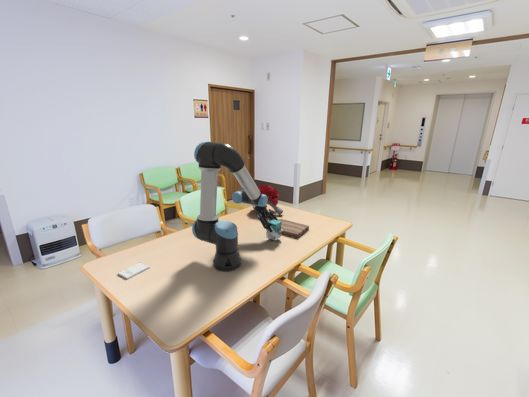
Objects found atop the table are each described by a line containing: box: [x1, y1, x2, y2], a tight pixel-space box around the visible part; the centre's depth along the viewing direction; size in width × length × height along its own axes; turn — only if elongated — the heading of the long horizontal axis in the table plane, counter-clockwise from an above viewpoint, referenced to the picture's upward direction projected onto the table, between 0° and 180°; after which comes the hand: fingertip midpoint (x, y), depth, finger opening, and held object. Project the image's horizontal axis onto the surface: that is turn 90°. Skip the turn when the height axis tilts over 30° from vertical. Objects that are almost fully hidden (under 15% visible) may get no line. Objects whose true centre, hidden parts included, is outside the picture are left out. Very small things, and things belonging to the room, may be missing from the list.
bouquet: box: [257, 184, 284, 216], centre depth 221 cm, size 22×24×30 cm
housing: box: [265, 219, 282, 241], centre depth 172 cm, size 7×7×11 cm
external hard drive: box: [117, 262, 151, 280], centre depth 136 cm, size 2×8×12 cm
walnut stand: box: [278, 218, 310, 239], centre depth 189 cm, size 18×24×3 cm
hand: (278, 233), depth 170 cm, fingers closed on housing, 7 cm apart
